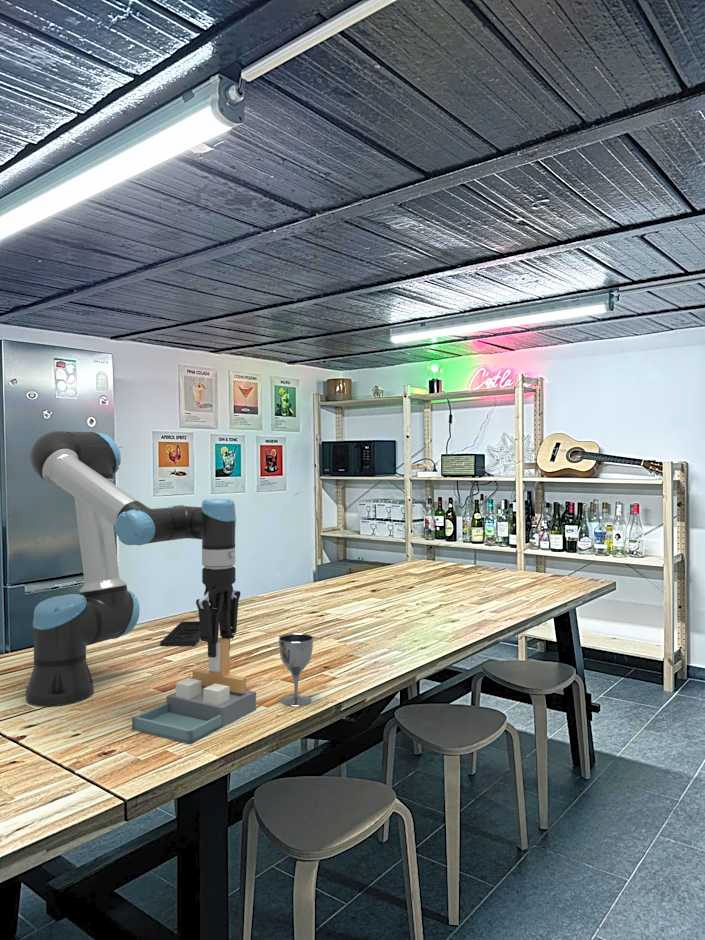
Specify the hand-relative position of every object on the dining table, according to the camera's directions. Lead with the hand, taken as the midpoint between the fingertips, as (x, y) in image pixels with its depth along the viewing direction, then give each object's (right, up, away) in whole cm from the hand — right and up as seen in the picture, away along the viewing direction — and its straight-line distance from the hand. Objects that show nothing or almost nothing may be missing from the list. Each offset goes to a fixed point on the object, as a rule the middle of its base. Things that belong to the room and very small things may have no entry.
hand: (219, 668), depth 159 cm
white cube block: (-6, -5, -3) cm, 9 cm away
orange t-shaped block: (0, -4, 0) cm, 4 cm away
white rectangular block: (+1, -5, -7) cm, 9 cm away
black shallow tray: (-20, -9, +66) cm, 69 cm away
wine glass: (+17, -9, +5) cm, 20 cm away
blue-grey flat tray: (-6, -9, -12) cm, 17 cm away
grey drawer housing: (-1, -9, -2) cm, 9 cm away
